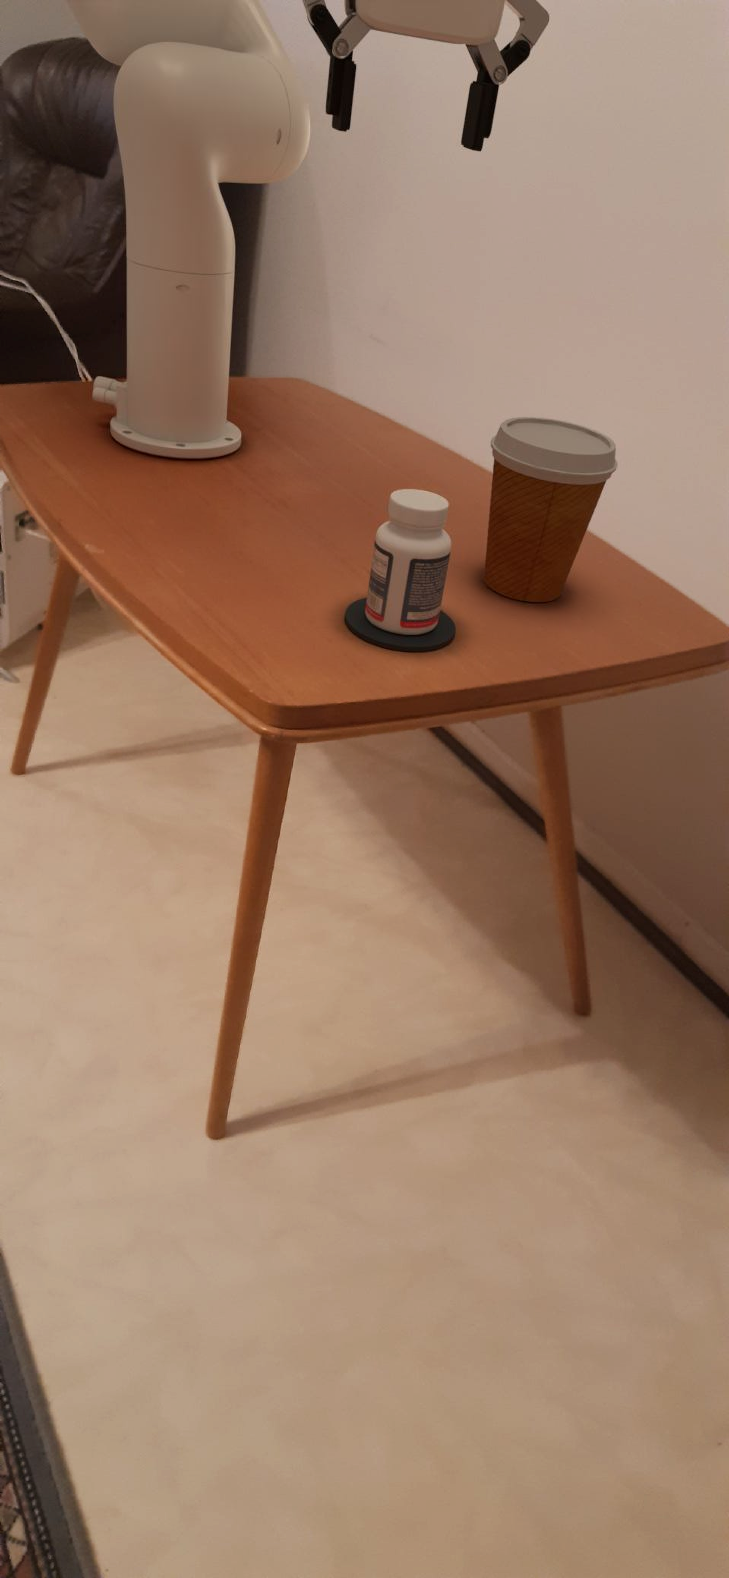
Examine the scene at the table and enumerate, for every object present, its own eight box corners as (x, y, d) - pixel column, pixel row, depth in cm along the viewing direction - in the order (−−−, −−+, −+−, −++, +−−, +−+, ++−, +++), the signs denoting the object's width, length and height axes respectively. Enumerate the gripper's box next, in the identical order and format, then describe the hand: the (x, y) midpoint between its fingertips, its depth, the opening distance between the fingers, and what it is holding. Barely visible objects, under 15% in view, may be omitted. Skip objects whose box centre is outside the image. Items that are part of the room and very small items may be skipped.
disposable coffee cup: (493, 551, 87) (524, 407, 81) (597, 587, 84) (639, 440, 77) (443, 584, 80) (472, 429, 74) (554, 624, 77) (596, 466, 70)
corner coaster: (328, 633, 71) (329, 627, 71) (364, 591, 77) (364, 586, 77) (439, 662, 69) (440, 657, 69) (465, 617, 76) (467, 613, 76)
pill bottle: (445, 615, 75) (468, 497, 70) (425, 644, 71) (448, 520, 66) (377, 597, 76) (395, 479, 71) (353, 624, 72) (371, 501, 67)
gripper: (558, -150, 68) (504, 151, 78) (301, -209, 63) (278, 118, 73) (603, -167, 62) (538, 162, 72) (322, -233, 58) (294, 126, 67)
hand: (406, 139), depth 72 cm, fingers open, 9 cm apart
